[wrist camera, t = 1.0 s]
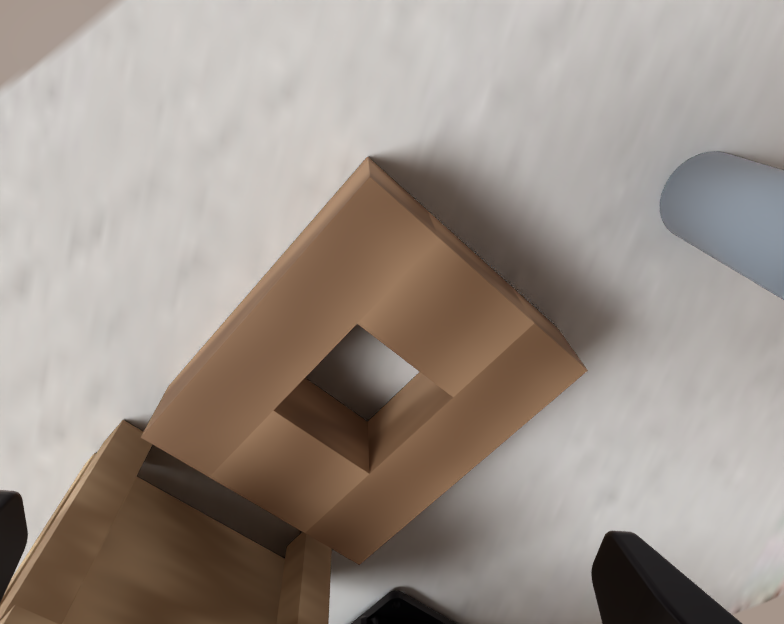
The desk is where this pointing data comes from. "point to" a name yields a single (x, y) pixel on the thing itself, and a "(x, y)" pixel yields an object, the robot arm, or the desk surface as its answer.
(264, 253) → the desk surface
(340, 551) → the socket station
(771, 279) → the peg
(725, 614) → the robot arm
